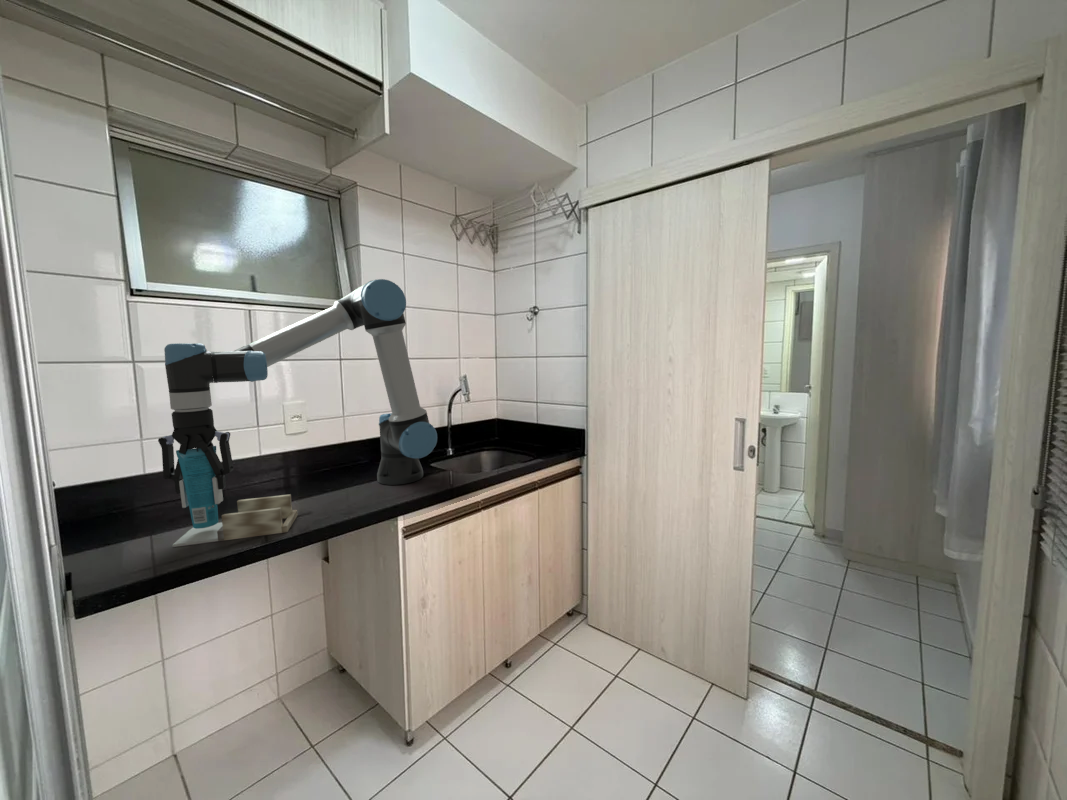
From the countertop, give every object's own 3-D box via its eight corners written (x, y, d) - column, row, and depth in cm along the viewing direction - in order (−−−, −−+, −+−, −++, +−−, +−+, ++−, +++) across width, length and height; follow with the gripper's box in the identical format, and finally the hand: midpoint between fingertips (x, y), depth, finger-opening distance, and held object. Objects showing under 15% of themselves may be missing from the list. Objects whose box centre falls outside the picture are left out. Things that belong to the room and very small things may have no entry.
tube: (223, 518, 106) (214, 443, 103) (225, 523, 102) (217, 446, 100) (185, 526, 101) (175, 449, 98) (186, 533, 97) (176, 452, 95)
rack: (297, 515, 113) (295, 493, 112) (287, 531, 102) (285, 508, 102) (235, 522, 108) (233, 500, 108) (218, 541, 98) (215, 516, 97)
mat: (236, 522, 108) (236, 520, 108) (219, 540, 98) (219, 538, 98) (195, 527, 106) (194, 525, 106) (172, 547, 95) (172, 544, 95)
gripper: (244, 405, 105) (253, 494, 107) (151, 409, 99) (163, 503, 102) (233, 409, 97) (243, 504, 100) (132, 414, 92) (146, 515, 95)
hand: (203, 503), depth 101 cm, fingers closed on tube, 6 cm apart
